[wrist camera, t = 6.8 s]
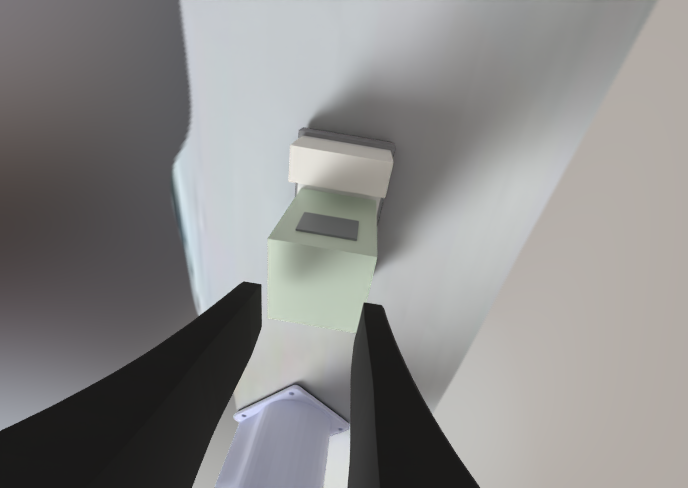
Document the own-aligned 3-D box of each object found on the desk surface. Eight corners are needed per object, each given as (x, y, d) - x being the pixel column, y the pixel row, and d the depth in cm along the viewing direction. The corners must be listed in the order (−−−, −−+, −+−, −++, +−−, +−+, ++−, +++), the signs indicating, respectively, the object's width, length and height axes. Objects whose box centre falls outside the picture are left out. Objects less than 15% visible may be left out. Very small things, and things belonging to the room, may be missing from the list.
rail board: (362, 281, 19) (360, 317, 16) (293, 269, 19) (279, 303, 16) (394, 143, 15) (399, 158, 12) (303, 127, 15) (285, 139, 12)
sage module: (363, 262, 17) (358, 333, 12) (297, 251, 17) (267, 318, 12) (376, 198, 15) (377, 254, 10) (301, 186, 15) (267, 236, 10)
